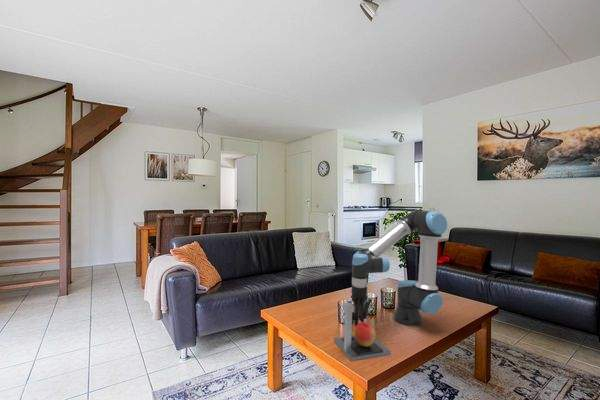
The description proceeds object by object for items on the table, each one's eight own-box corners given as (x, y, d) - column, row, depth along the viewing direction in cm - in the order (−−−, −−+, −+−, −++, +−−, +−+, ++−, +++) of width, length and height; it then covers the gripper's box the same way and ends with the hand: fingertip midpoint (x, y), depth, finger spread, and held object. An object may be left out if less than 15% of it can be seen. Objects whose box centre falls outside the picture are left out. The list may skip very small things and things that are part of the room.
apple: (358, 351, 132) (359, 329, 132) (351, 341, 142) (351, 320, 141) (379, 349, 134) (379, 327, 134) (370, 339, 143) (370, 319, 143)
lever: (350, 336, 147) (351, 315, 147) (353, 339, 144) (354, 317, 144) (343, 337, 146) (344, 316, 146) (346, 340, 143) (347, 318, 143)
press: (369, 336, 152) (371, 292, 152) (390, 354, 135) (392, 305, 135) (333, 341, 146) (334, 296, 146) (349, 361, 129) (351, 309, 128)
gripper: (367, 282, 152) (365, 328, 152) (344, 284, 148) (342, 331, 148) (375, 287, 145) (373, 335, 145) (351, 288, 141) (349, 338, 141)
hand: (358, 333), depth 147 cm, fingers closed
